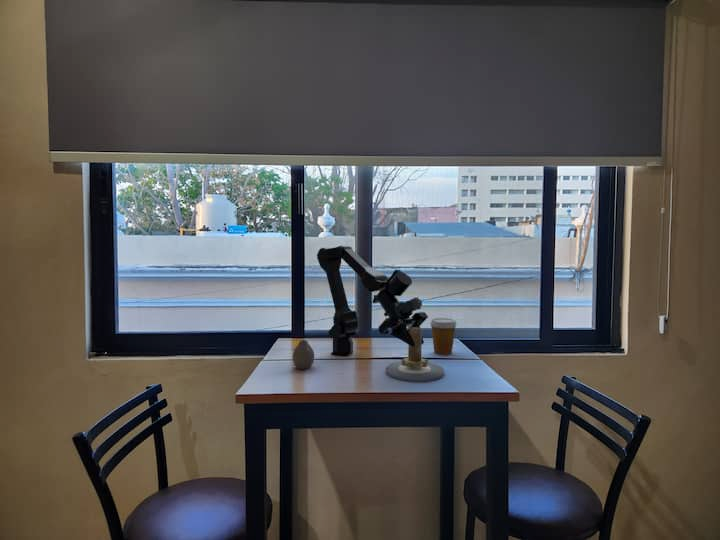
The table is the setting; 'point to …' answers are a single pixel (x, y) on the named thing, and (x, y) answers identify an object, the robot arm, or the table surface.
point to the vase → (303, 355)
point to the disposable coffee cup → (443, 335)
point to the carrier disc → (415, 372)
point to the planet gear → (415, 350)
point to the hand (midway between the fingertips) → (418, 344)
